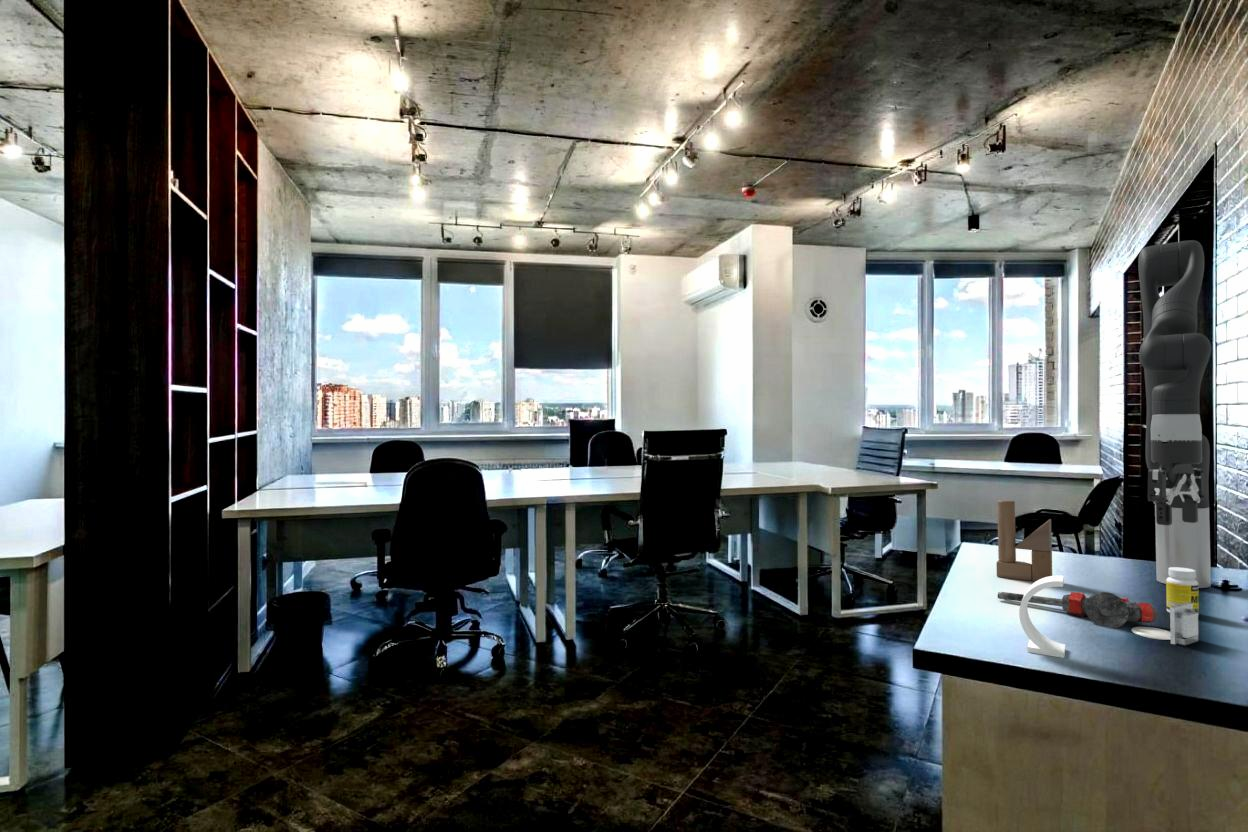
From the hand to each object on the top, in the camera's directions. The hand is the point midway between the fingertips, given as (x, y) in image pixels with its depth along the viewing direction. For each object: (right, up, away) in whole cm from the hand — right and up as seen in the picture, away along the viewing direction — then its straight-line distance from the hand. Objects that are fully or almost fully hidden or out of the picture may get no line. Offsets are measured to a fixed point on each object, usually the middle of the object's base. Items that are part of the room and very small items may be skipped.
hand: (1177, 523), depth 126 cm
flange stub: (-12, -17, -15) cm, 26 cm away
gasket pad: (-14, -17, -12) cm, 25 cm away
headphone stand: (-37, -18, -19) cm, 45 cm away
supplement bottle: (+1, -17, -1) cm, 17 cm away
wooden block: (-12, -18, +28) cm, 35 cm away
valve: (-17, -18, +2) cm, 25 cm away
